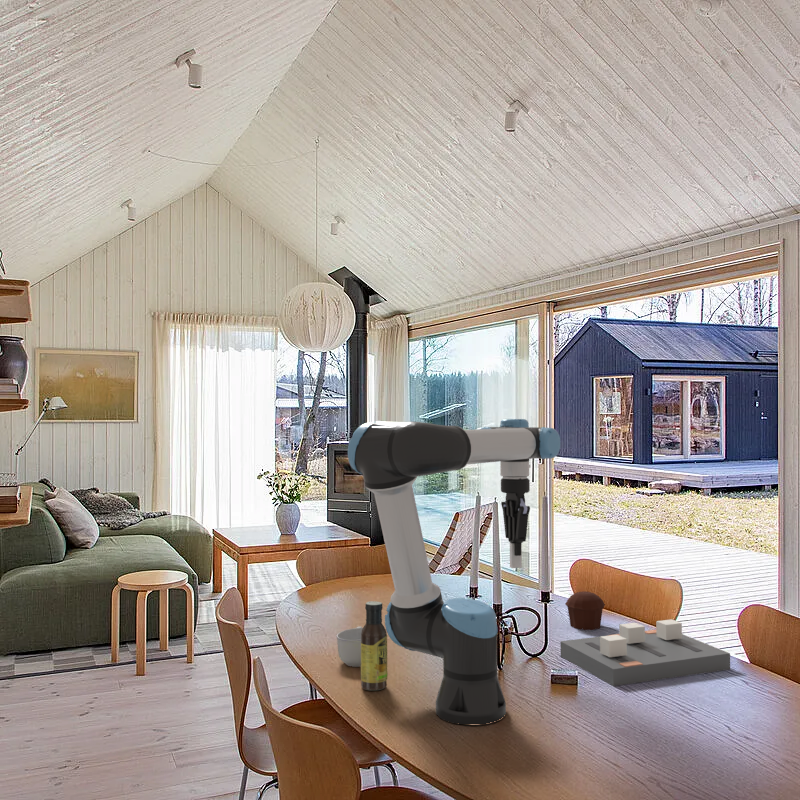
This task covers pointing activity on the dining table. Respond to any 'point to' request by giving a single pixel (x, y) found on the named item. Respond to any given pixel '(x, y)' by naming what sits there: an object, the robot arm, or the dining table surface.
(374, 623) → the sauce bottle
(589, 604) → the muffin
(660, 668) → the switch panel
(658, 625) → the switch
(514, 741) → the dining table surface
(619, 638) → the switch
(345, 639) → the teacup
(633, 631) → the switch middle
